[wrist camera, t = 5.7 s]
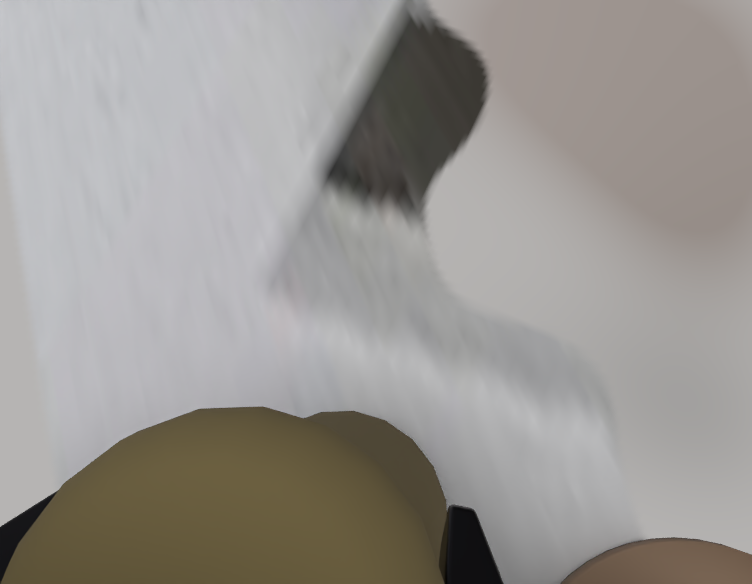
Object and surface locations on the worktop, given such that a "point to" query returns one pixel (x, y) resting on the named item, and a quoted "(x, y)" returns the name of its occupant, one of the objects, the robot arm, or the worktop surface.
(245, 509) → the cork
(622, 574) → the walnut plate
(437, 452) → the worktop surface
